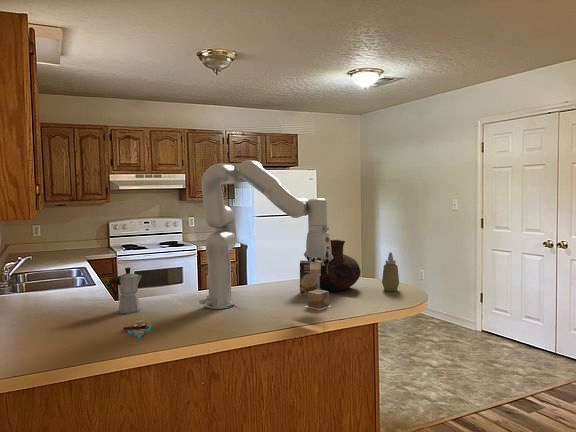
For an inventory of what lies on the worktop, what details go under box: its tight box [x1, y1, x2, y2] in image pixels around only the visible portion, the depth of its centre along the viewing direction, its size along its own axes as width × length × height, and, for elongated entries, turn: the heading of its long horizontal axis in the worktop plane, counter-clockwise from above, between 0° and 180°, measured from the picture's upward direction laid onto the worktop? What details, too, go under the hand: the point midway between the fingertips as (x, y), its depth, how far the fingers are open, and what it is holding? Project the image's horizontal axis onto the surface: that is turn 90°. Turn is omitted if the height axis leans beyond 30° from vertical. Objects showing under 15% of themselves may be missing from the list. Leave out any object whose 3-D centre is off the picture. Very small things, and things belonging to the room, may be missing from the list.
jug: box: [315, 239, 361, 292], centre depth 224 cm, size 25×25×25 cm
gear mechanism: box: [122, 315, 152, 340], centre depth 166 cm, size 20×5×9 cm
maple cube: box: [310, 261, 328, 276], centre depth 187 cm, size 5×5×5 cm
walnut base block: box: [307, 289, 330, 310], centre depth 188 cm, size 6×6×6 cm
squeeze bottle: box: [381, 251, 400, 292], centre depth 219 cm, size 8×8×18 cm
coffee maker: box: [107, 267, 143, 315], centre depth 190 cm, size 15×9×18 cm, turn 134°
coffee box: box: [299, 260, 321, 296], centre depth 210 cm, size 9×6×16 cm
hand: (318, 273), depth 187 cm, fingers closed on maple cube, 4 cm apart
